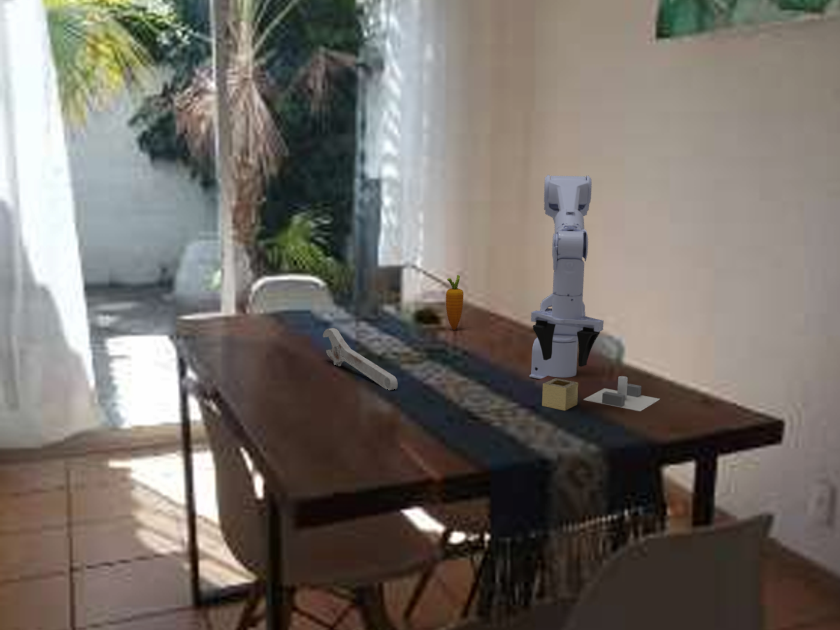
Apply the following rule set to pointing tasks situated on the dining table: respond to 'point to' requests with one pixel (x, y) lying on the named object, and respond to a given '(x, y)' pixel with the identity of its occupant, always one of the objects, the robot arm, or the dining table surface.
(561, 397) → the brass collar
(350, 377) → the dining table surface
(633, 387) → the block
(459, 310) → the carrot
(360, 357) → the wrench
